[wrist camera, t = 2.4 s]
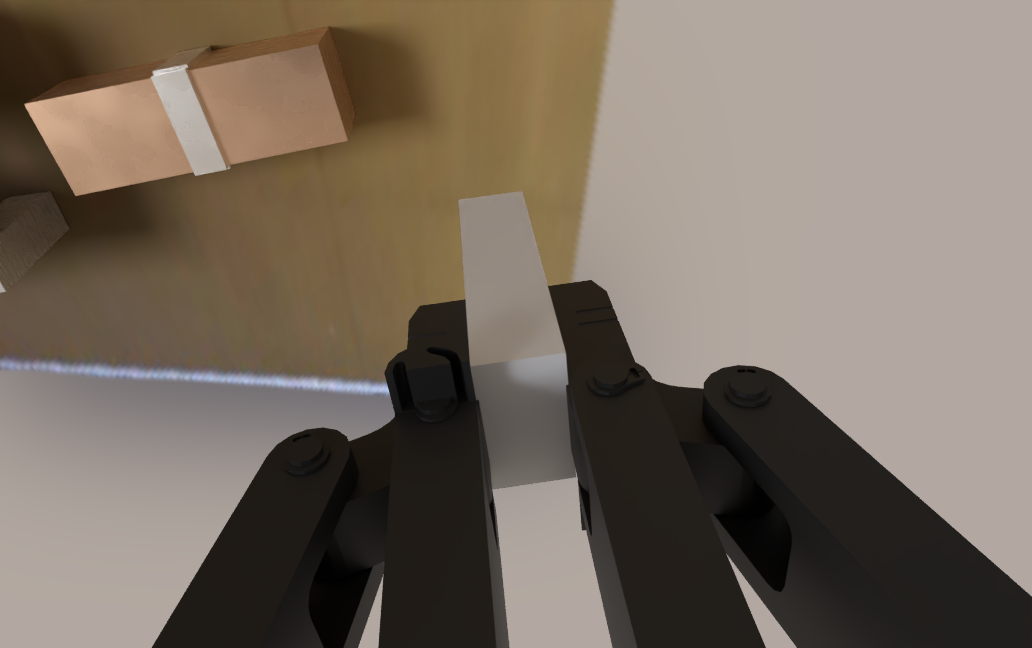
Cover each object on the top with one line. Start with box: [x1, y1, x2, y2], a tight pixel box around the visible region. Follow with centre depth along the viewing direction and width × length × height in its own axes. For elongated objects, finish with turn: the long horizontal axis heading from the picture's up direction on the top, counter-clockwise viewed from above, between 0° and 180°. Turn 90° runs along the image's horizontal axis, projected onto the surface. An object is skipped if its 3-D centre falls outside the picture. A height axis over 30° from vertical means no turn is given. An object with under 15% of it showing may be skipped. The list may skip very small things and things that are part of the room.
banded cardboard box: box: [24, 27, 356, 196], centre depth 31 cm, size 12×4×4 cm, turn 100°
